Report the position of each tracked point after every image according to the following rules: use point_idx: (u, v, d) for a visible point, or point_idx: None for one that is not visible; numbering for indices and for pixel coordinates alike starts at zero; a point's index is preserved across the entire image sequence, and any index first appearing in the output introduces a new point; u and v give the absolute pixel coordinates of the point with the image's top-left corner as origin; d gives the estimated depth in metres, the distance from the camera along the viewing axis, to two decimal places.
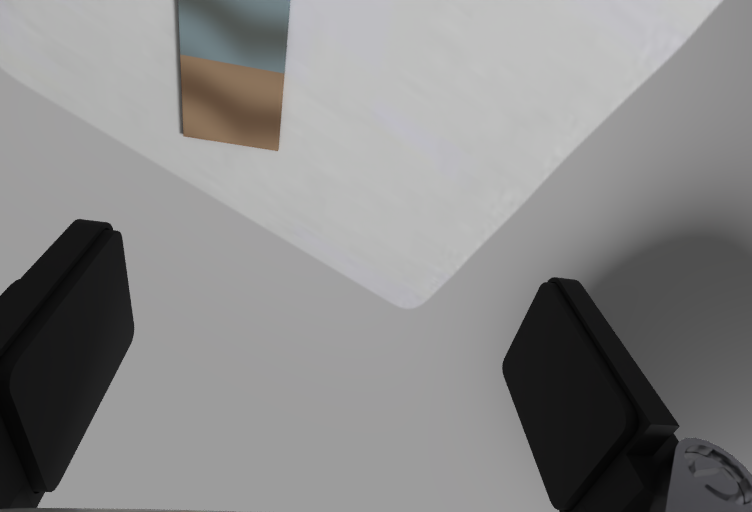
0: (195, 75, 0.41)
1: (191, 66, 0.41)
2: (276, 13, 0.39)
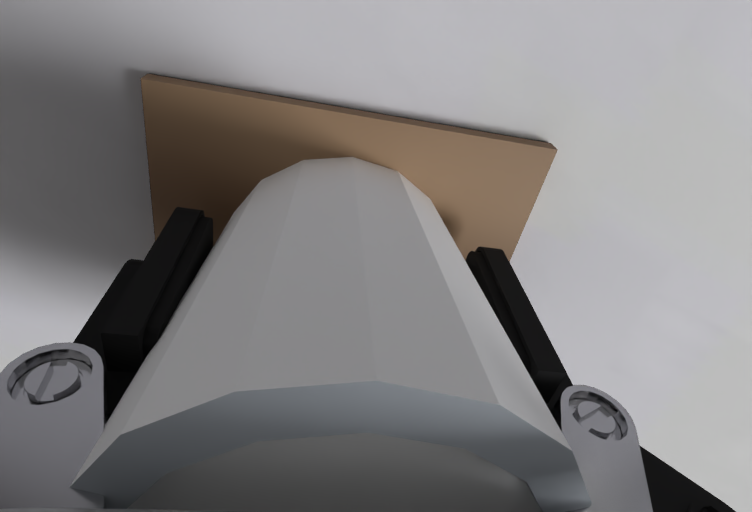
0: None
1: None
2: None
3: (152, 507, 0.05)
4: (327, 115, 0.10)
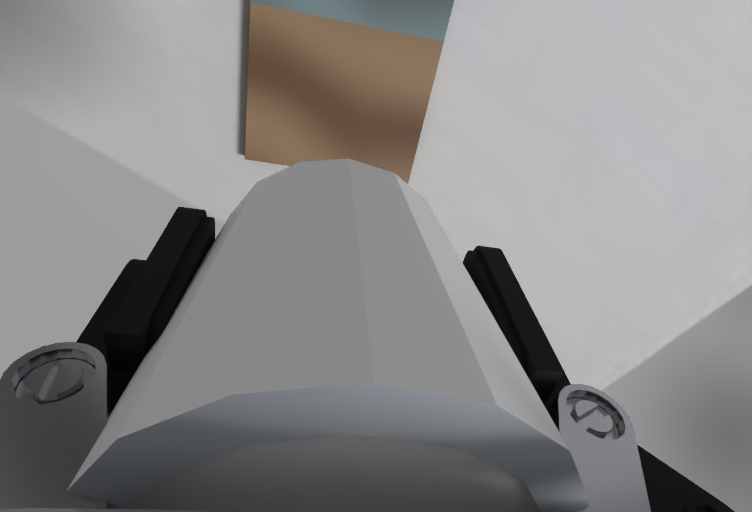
0: (275, 45, 0.22)
1: (270, 27, 0.21)
2: None
3: None
4: None
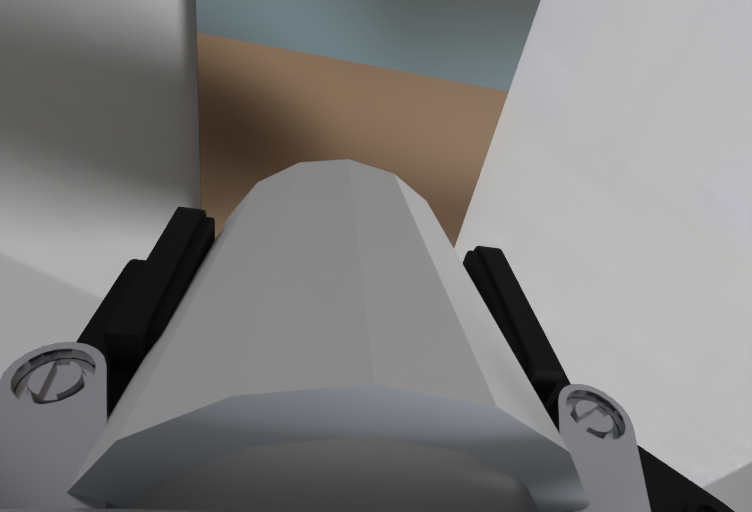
0: (241, 98, 0.14)
1: (231, 71, 0.13)
2: None
3: None
4: None
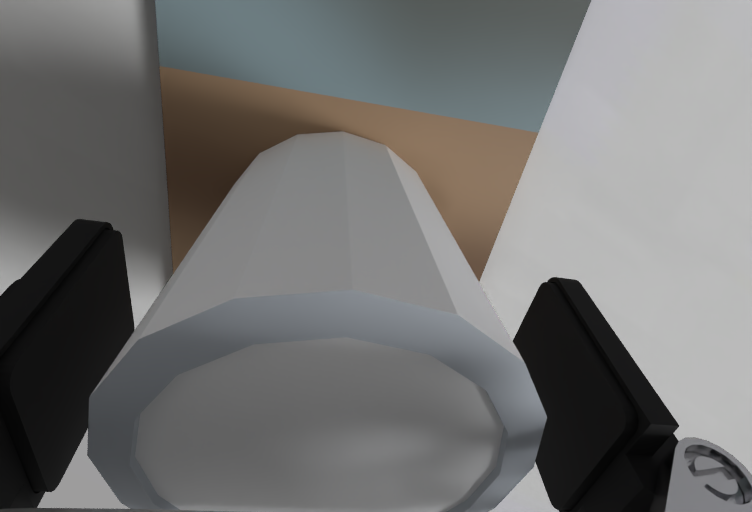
0: (216, 142, 0.11)
1: (203, 111, 0.11)
2: None
3: (164, 414, 0.06)
4: None
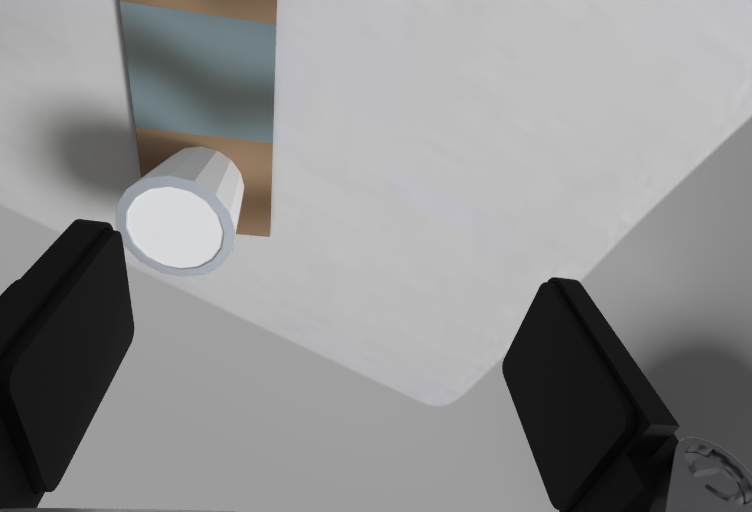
0: (156, 152, 0.32)
1: (151, 141, 0.31)
2: (257, 70, 0.30)
3: (133, 211, 0.27)
4: None
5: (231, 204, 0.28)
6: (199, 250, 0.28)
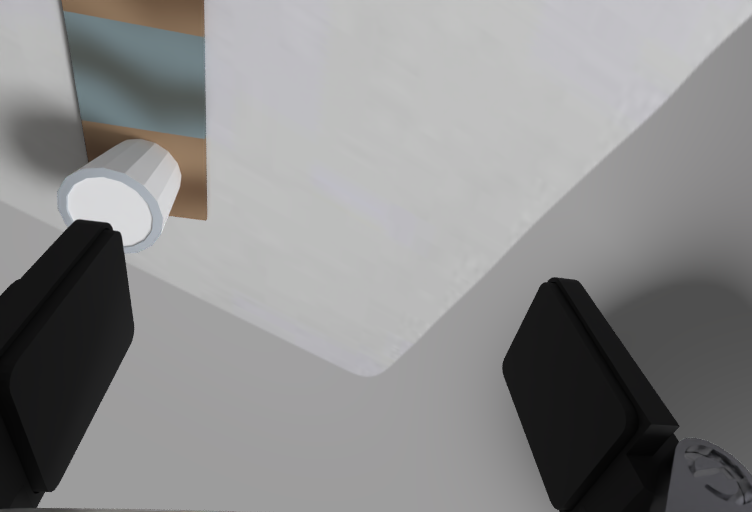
0: (101, 142, 0.36)
1: (96, 132, 0.36)
2: (189, 75, 0.34)
3: (72, 196, 0.31)
4: None
5: (160, 193, 0.33)
6: (132, 231, 0.33)
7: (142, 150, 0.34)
